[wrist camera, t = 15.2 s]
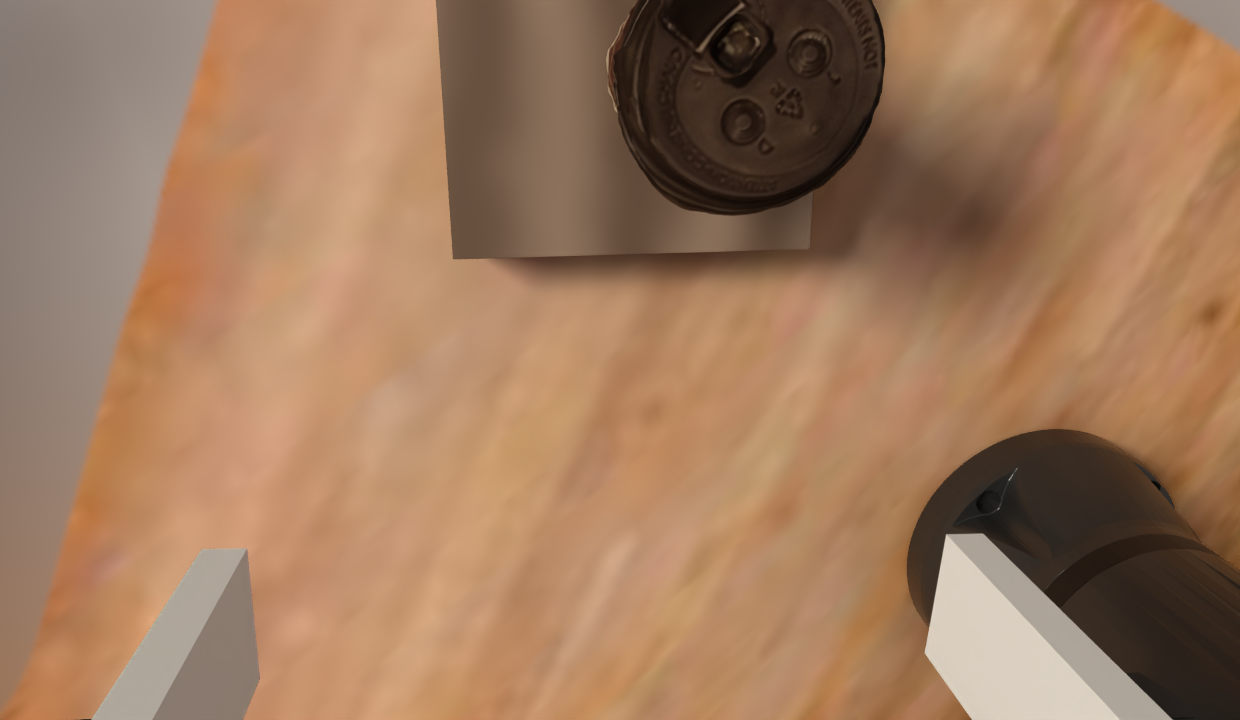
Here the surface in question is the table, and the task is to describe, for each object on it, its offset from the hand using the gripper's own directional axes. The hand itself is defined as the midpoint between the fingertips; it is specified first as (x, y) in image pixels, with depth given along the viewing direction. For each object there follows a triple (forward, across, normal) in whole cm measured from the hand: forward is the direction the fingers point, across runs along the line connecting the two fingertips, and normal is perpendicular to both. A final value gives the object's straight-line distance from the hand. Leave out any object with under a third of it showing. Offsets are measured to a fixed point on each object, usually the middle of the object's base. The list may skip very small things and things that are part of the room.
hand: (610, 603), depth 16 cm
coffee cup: (+24, -5, -10) cm, 27 cm away
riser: (+28, -3, -10) cm, 30 cm away
